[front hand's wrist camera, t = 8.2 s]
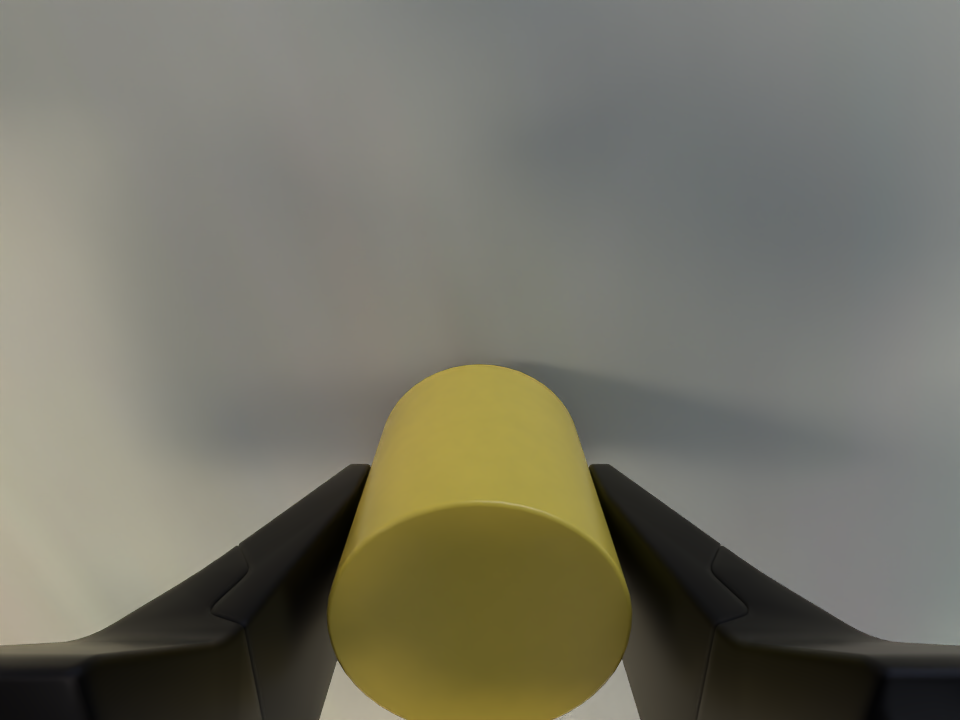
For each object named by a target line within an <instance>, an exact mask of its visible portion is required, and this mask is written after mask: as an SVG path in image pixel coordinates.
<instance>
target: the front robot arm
mask: <svg viewBox="0 0 960 720" xmlns="http://www.w3.org/2000/svg"><path fill="white" fill-rule="evenodd" d="M370 469H371V467H370V465H368V464H351V465H349V466H347V467H346V468H345V469H343V470H342V471H340V472H339V473H338V474H336V475H335V476H333V477H332V478H331V479H329V480H328V481H326V482H325V483H324V484H322V485H321V486H319V487H318V488H317V489H315V490H314V491H312V492H311V493H310V494H308V495H307V496H305V497H304V498H303V499H301V500H300V501H298V502H297V503H296V504H294V505H293V506H291V507H290V508H289V509H287V510H286V511H284V512H283V513H282V514H280V515H279V516H278V517H276V518H275V519H273V520H272V521H271V522H269V523H268V524H266V525H265V526H264V527H262V528H261V529H259V530H258V531H257V532H255V533H254V534H252V535H251V536H250V537H248V538H247V539H245V540H244V541H242V542H241V543H240V544H239V546H235V547H234V548H233V549H231V550H230V551H228V552H227V553H226V554H224V555H223V556H221V557H220V558H218V559H217V560H215V561H214V562H212V563H211V564H210V565H208V566H207V567H205V568H204V569H202V570H201V571H199V572H198V573H196V574H194V575H193V576H191V577H190V578H188V579H186V580H185V581H183V582H182V583H180V584H178V585H177V586H175V587H174V588H172V589H170V590H169V591H167V592H165V593H164V594H162V595H160V596H159V597H157V598H155V599H154V600H152V601H150V602H149V603H147V604H145V605H144V606H142V607H140V608H139V609H137V610H135V611H134V612H132V613H130V614H129V615H127V616H125V617H124V618H122V619H120V620H119V621H117V622H115V623H114V624H112V625H110V626H108V627H107V628H105V629H103V630H101V631H99V632H96V633H94V634H92V635H90V636H87V637H83V638H80V639H77V640H73V641H68V642H58V643H40V644H22V645H4V646H0V720H319V718H320V715H321V712H322V708H323V705H324V702H325V699H326V695H327V692H328V689H329V685H330V682H331V679H332V675H333V672H334V669H335V665H336V662H337V658H336V655H335V653H334V650H333V648H332V645H331V641H330V636H329V632H328V627H327V605H328V597H329V593H330V590H331V587H332V583H333V580H334V577H335V574H336V571H337V568H338V565H339V562H340V559H341V556H342V553H343V550H344V547H345V544H346V541H347V538H348V535H349V532H350V529H351V526H352V523H353V520H354V517H355V514H356V511H357V508H358V505H359V502H360V499H361V496H362V493H363V490H364V487H365V484H366V481H367V478H368V475H369V472H370ZM589 471H590V474H591V477H592V480H593V483H594V486H595V489H596V492H597V496H598V499H599V502H600V505H601V508H602V511H603V514H604V517H605V520H606V523H607V526H608V529H609V532H610V535H611V538H612V541H613V544H614V547H615V550H616V553H617V557H618V560H619V563H620V566H621V569H622V572H623V575H624V578H625V581H626V584H627V587H628V590H629V593H630V599H631V606H632V627H631V631H630V636H629V641H628V645H627V647H626V650H625V653H624V655H623V658H622V660H623V663H624V667H625V670H626V673H627V677H628V680H629V683H630V687H631V690H632V693H633V696H634V700H635V703H636V706H637V710H638V713H639V716H640V720H960V646H955V645H937V644H919V643H901V642H892V641H887V640H882V639H879V638H876V637H873V636H870V635H868V634H865V633H863V632H861V631H858V630H857V629H855V628H853V627H851V626H849V625H848V624H846V623H844V622H843V621H841V620H839V619H838V618H836V617H834V616H833V615H831V614H829V613H828V612H826V611H824V610H823V609H821V608H819V607H818V606H816V605H814V604H813V603H811V602H809V601H808V600H806V599H804V598H803V597H801V596H799V595H798V594H796V593H794V592H793V591H791V590H789V589H788V588H786V587H784V586H783V585H781V584H780V583H778V582H776V581H775V580H773V579H772V578H770V577H768V576H767V575H765V574H764V573H762V572H760V571H759V570H757V569H756V568H754V567H753V566H751V565H750V564H749V563H747V562H746V561H744V560H743V559H741V558H740V557H738V556H737V555H735V554H734V553H733V552H731V551H730V550H728V549H727V548H726V547H724V546H721V545H720V543H718V542H717V541H716V540H714V539H713V538H711V537H710V536H709V535H707V534H706V533H704V532H703V531H702V530H700V529H699V528H697V527H696V526H695V525H693V524H692V523H690V522H689V521H688V520H686V519H685V518H684V517H682V516H681V515H679V514H678V513H677V512H675V511H674V510H672V509H671V508H670V507H668V506H667V505H665V504H664V503H663V502H661V501H660V500H658V499H657V498H656V497H654V496H653V495H651V494H650V493H649V492H647V491H646V490H644V489H643V488H642V487H640V486H639V485H637V484H636V483H635V482H633V481H632V480H630V479H629V478H628V477H626V476H625V475H623V474H622V473H621V472H619V471H618V470H616V469H615V468H614V467H612V466H611V465H609V464H592V465H590V466H589Z"/></svg>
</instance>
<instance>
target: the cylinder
mask: <svg viewBox="0 0 960 720" xmlns="http://www.w3.org/2000/svg"><path fill="white" fill-rule="evenodd" d="M327 627H328V632H329V636H330V641H331V645H332V648H333V650H334V653H335V655H336V658H337V660H338V661H339V663H340V665H341V666H342V668H343V670H344V672H345V673H346V674H347V675H348V677H349V678H350V679H351V680H352V682H353V683H354V684H355V685H356V686H357V687H358V688H359V689H360V690H361V691H362V692H363V693H364V694H365V695H366V696H367V697H369V698H370V699H371V700H373V701H374V702H375V703H377V704H378V705H380V706H381V707H383V708H385V709H386V710H388V711H390V712H391V713H393V714H395V715H397V716H399V717H402V718H404V719H406V720H553V719H555V718H558V717H560V716H562V715H564V714H566V713H568V712H570V711H571V710H573V709H575V708H576V707H578V706H580V705H581V704H582V703H584V702H585V701H586V700H588V699H589V698H590V697H592V696H593V695H594V694H595V693H596V692H597V691H598V690H599V689H600V688H601V687H602V686H603V685H604V684H605V683H606V682H607V681H608V679H609V678H610V677H611V676H612V674H613V673H614V672H615V670H616V668H617V667H618V665H619V663H620V661H621V660H622V658H623V655H624V653H625V650H626V647H627V645H628V641H629V636H630V631H631V627H632V606H631V599H630V593H629V590H628V587H627V584H626V581H625V578H624V575H623V572H622V569H621V566H620V563H619V560H618V557H617V553H616V550H615V547H614V544H613V541H612V538H611V535H610V532H609V529H608V526H607V523H606V520H605V517H604V514H603V511H602V508H601V505H600V502H599V499H598V496H597V492H596V489H595V486H594V483H593V480H592V477H591V474H590V471H589V468H588V465H587V462H586V459H585V456H584V453H583V450H582V447H581V444H580V441H579V438H578V434H577V431H576V428H575V425H574V422H573V420H572V418H571V416H570V414H569V412H568V410H567V409H566V408H565V406H564V405H563V403H562V402H561V401H560V399H559V398H558V397H557V396H556V395H555V394H554V393H553V392H552V391H551V390H549V389H548V388H547V387H546V386H545V385H543V384H542V383H540V382H539V381H537V380H536V379H534V378H532V377H530V376H528V375H526V374H524V373H522V372H519V371H516V370H513V369H510V368H506V367H501V366H495V365H482V364H477V365H464V366H459V367H454V368H450V369H447V370H444V371H440V372H438V373H436V374H434V375H431V376H429V377H427V378H426V379H424V380H422V381H421V382H419V383H418V384H416V385H415V386H414V387H412V388H411V389H410V390H409V391H408V392H407V393H406V394H405V395H404V396H403V397H402V398H401V399H400V400H399V401H398V402H397V404H396V405H395V407H394V408H393V410H392V411H391V413H390V415H389V417H388V419H387V422H386V424H385V427H384V430H383V433H382V436H381V439H380V442H379V445H378V448H377V451H376V454H375V457H374V460H373V463H372V466H371V469H370V472H369V475H368V478H367V481H366V484H365V487H364V490H363V493H362V496H361V499H360V502H359V505H358V508H357V511H356V514H355V517H354V520H353V523H352V526H351V529H350V532H349V535H348V538H347V541H346V544H345V547H344V550H343V553H342V556H341V559H340V562H339V565H338V568H337V571H336V574H335V577H334V580H333V583H332V587H331V590H330V593H329V597H328V605H327Z"/></svg>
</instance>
